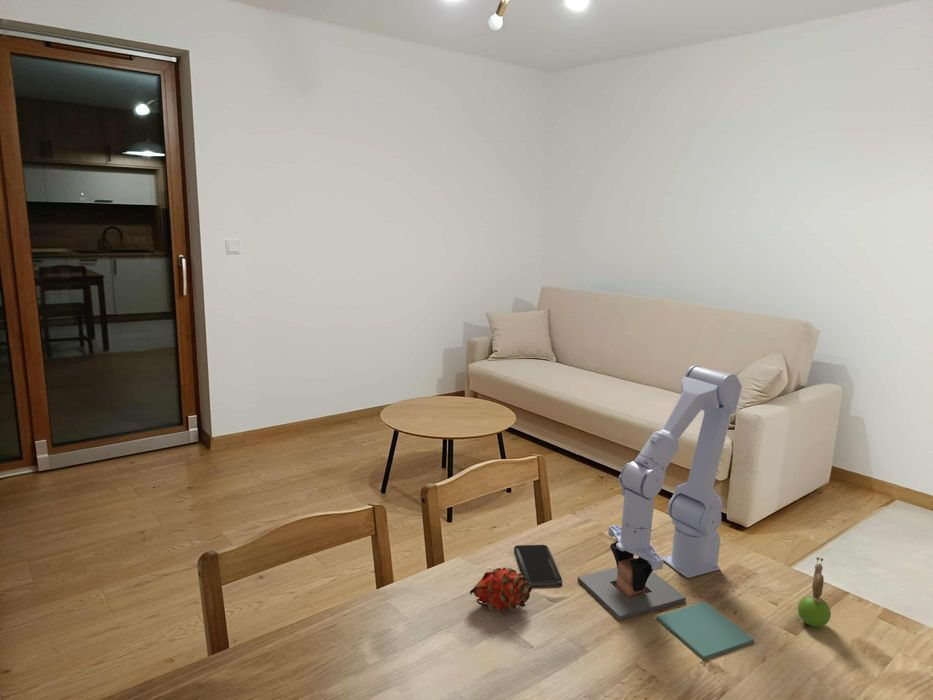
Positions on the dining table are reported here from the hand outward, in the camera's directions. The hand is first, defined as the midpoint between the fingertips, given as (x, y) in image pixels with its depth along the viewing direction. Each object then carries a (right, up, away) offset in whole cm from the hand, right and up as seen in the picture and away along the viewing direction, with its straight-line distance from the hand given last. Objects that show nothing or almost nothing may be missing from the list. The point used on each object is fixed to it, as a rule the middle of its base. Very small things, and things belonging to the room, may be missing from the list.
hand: (631, 583), depth 127 cm
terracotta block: (0, -2, 0) cm, 2 cm away
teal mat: (+11, -5, -11) cm, 16 cm away
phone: (-18, 0, +9) cm, 20 cm away
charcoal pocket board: (0, -2, 0) cm, 2 cm away
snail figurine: (+32, -5, -8) cm, 33 cm away
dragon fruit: (-27, -3, -6) cm, 28 cm away
